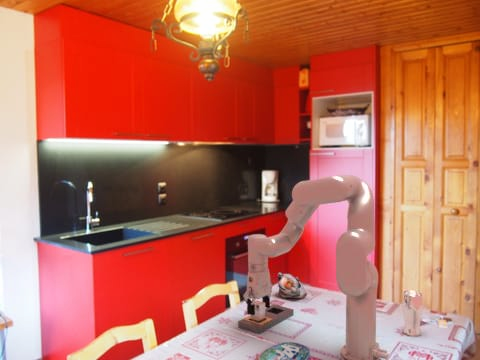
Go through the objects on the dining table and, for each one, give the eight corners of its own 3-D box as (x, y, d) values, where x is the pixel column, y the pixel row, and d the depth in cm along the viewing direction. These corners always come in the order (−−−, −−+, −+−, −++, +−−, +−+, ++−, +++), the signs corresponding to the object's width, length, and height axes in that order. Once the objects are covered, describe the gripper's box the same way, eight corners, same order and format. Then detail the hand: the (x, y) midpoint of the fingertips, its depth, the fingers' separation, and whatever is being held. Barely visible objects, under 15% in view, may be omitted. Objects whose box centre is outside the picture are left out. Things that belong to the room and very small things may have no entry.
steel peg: (265, 325, 155) (265, 302, 155) (259, 328, 152) (259, 305, 151) (256, 322, 157) (256, 300, 157) (250, 326, 154) (250, 303, 154)
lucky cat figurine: (312, 297, 188) (307, 275, 182) (291, 310, 184) (286, 289, 178) (293, 281, 201) (289, 259, 194) (274, 293, 197) (268, 271, 190)
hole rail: (293, 316, 165) (293, 308, 165) (259, 335, 147) (259, 327, 147) (273, 311, 172) (273, 303, 172) (238, 328, 153) (238, 320, 153)
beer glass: (410, 337, 145) (411, 297, 144) (398, 330, 151) (398, 291, 151) (426, 335, 147) (427, 295, 146) (413, 328, 153) (414, 289, 153)
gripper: (252, 273, 145) (252, 319, 145) (278, 263, 158) (279, 306, 158) (236, 270, 149) (237, 315, 150) (263, 261, 163) (264, 302, 163)
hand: (258, 310), depth 154 cm, fingers open, 9 cm apart
